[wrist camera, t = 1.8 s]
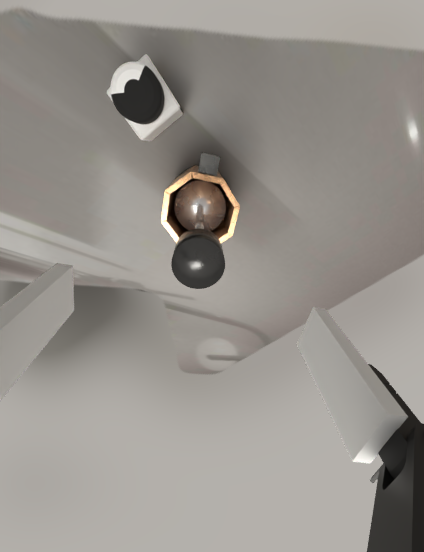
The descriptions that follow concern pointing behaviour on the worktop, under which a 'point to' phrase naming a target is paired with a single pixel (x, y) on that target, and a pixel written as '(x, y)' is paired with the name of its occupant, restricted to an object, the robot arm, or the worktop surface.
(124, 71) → the medicine bottle
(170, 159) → the worktop surface
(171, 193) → the press carafe
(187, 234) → the plunger
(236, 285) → the worktop surface
